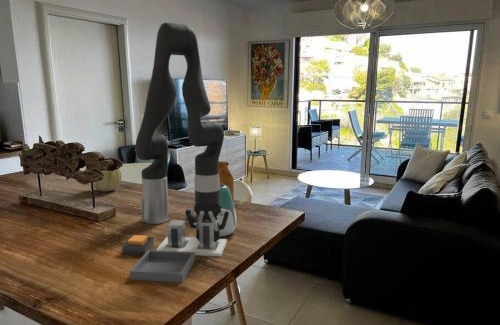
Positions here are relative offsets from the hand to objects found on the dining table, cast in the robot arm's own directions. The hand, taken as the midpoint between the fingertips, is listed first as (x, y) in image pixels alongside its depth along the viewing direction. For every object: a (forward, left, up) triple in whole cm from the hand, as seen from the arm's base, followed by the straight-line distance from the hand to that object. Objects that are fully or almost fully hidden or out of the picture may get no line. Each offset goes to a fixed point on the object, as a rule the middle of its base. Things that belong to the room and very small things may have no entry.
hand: (208, 240), depth 115 cm
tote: (-9, -15, -4) cm, 18 cm away
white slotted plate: (-5, 0, -4) cm, 6 cm away
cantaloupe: (-65, +62, -4) cm, 90 cm away
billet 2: (0, 0, -2) cm, 2 cm away
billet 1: (-10, 0, -4) cm, 11 cm away
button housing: (-21, -4, -4) cm, 22 cm away
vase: (+1, +15, -4) cm, 16 cm away
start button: (-21, -4, -1) cm, 21 cm away
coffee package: (-4, +38, -4) cm, 38 cm away
